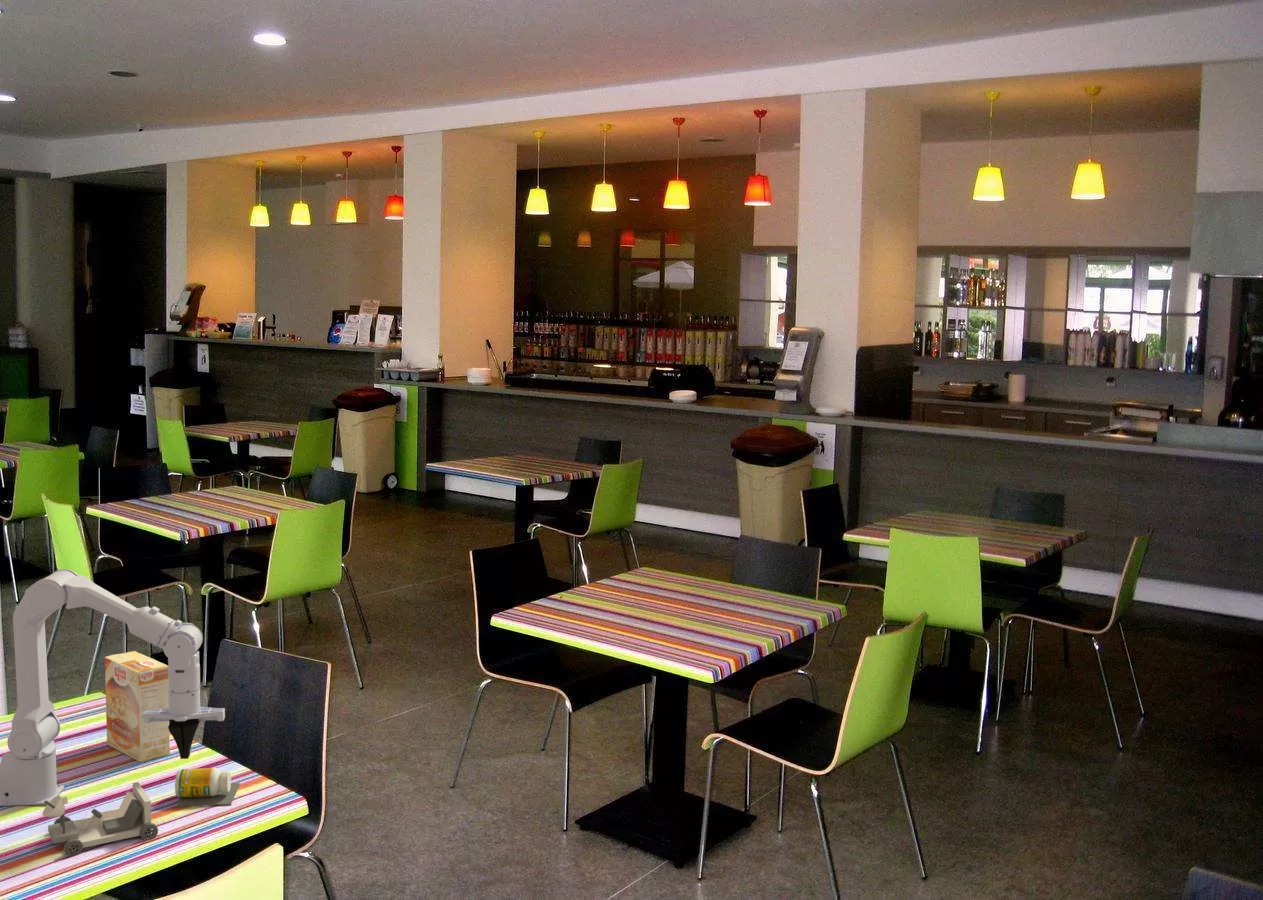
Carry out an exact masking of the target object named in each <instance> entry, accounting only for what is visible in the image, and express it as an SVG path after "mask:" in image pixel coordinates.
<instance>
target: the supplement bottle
mask: <svg viewBox="0 0 1263 900" xmlns="http://www.w3.org/2000/svg"><path fill="white" fill-rule="evenodd" d="M174 780H175V781H174V792H175V796H176V797H177V798H180V797H212V796H216V795H217V794H218V792H219V791H221V792H222V793H226V792H229V791H230V787H231V783H232V774H231V771H230V770H223V771H220V770H219V769H218V768H216V767H208V768H207V767H205V768H204V767H203V768H201V767H200V768H181V769H178V770H177V772H176V776H175V779H174Z"/></svg>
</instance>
